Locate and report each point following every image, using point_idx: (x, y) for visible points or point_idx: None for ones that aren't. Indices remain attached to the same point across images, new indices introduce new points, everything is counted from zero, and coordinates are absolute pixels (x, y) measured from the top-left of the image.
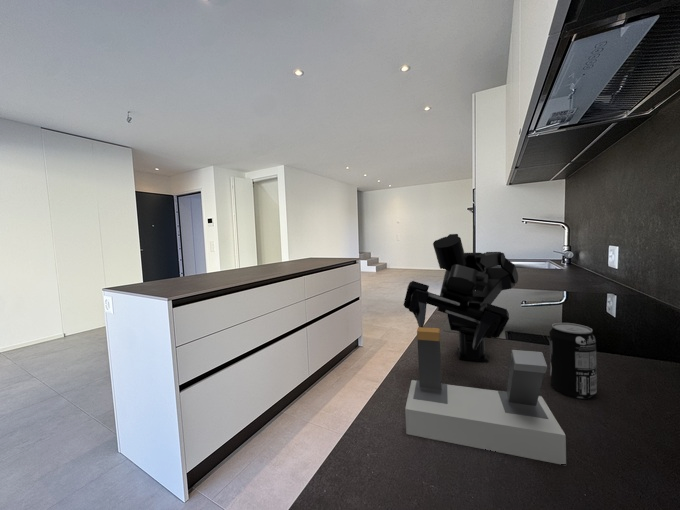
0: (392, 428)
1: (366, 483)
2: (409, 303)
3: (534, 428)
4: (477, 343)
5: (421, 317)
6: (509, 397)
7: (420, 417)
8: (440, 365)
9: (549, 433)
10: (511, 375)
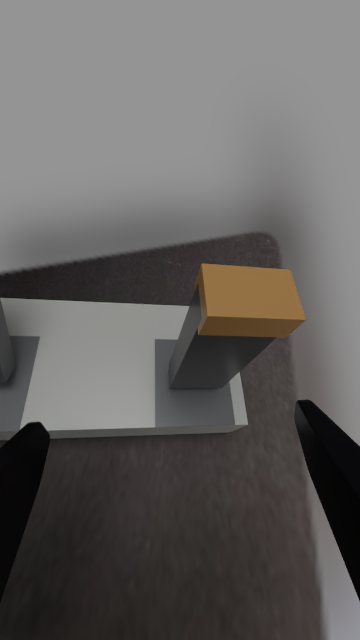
0: None
1: (235, 253)
2: None
3: (4, 301)
4: (20, 431)
5: (353, 448)
6: (12, 349)
7: None
8: (178, 337)
9: None
10: None
